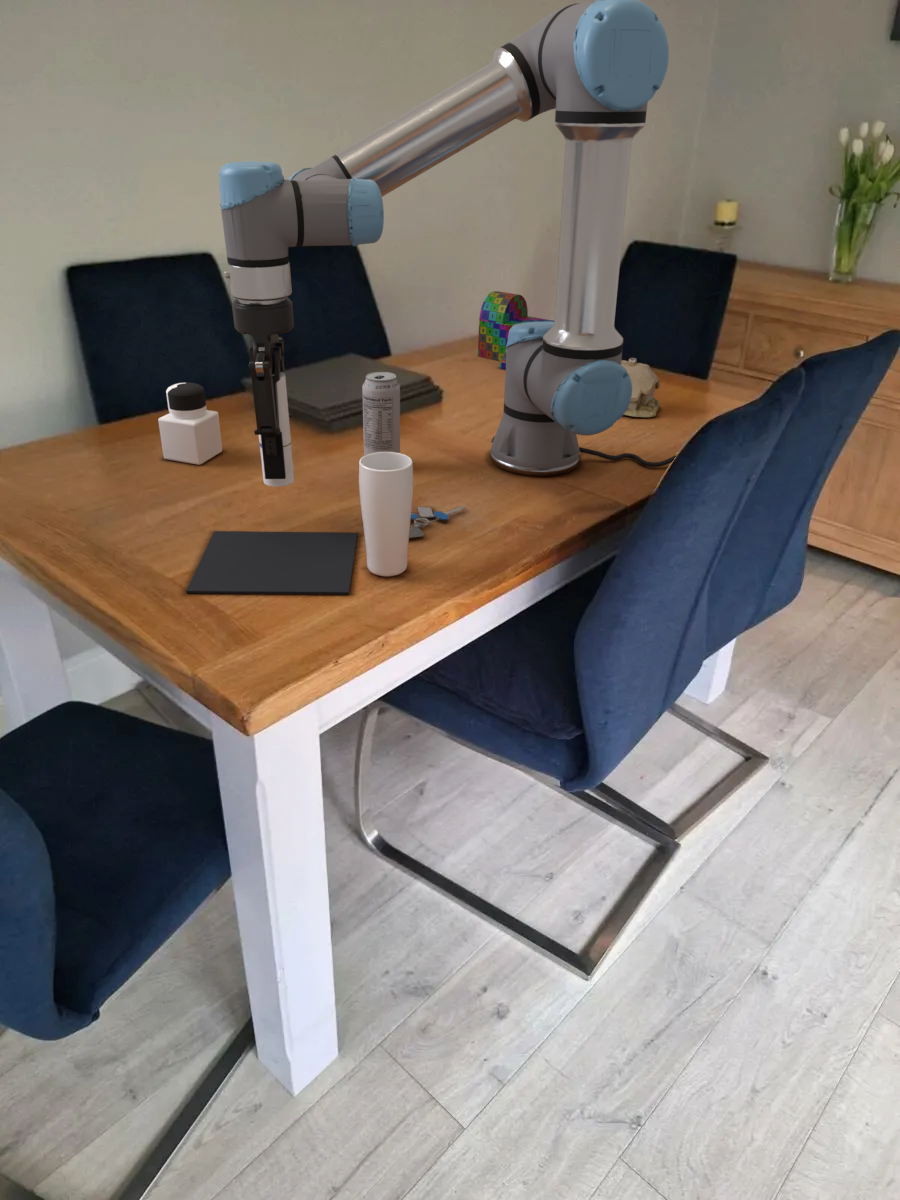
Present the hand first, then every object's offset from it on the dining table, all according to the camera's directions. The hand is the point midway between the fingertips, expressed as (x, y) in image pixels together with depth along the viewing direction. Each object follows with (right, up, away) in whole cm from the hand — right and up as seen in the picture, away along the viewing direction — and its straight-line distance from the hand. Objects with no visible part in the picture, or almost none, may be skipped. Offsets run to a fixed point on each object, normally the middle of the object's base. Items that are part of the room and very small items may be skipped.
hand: (278, 470), depth 123 cm
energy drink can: (+13, +4, +24) cm, 28 cm away
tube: (0, -2, +1) cm, 2 cm away
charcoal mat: (+1, -13, -7) cm, 15 cm away
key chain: (+19, -7, +6) cm, 21 cm away
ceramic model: (+60, +21, +55) cm, 84 cm away
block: (+43, +37, +83) cm, 100 cm away
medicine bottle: (-19, +6, +26) cm, 33 cm away
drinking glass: (+16, -14, -7) cm, 23 cm away
